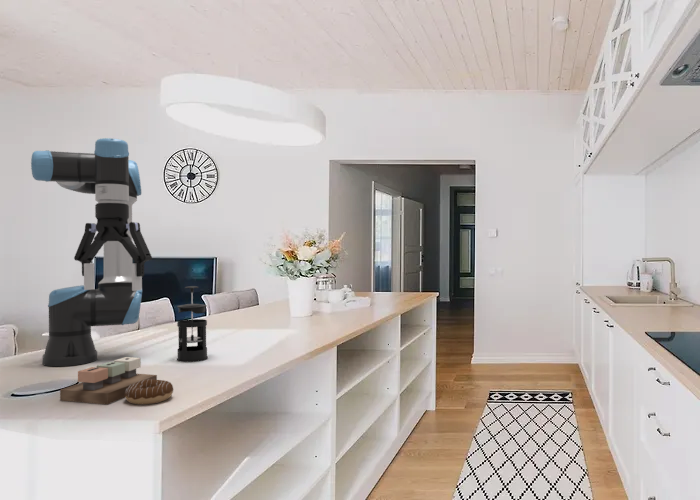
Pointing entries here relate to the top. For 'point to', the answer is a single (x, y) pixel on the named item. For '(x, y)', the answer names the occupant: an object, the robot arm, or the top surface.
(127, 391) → the donut
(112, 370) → the sage key
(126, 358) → the cream key
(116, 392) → the keypad
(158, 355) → the top surface
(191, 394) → the top surface
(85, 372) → the terracotta key
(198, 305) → the french press
